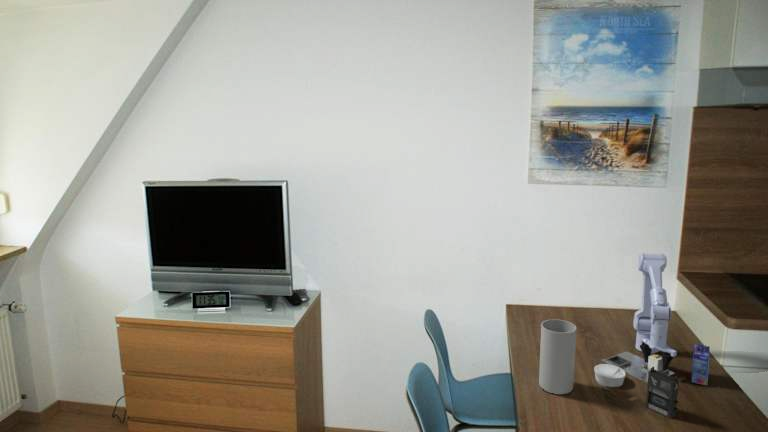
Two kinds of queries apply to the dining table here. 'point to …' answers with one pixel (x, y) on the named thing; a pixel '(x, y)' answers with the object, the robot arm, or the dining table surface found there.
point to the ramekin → (609, 375)
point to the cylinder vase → (557, 356)
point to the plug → (655, 362)
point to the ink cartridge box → (700, 364)
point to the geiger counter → (662, 393)
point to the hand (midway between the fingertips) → (655, 365)
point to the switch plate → (632, 365)
